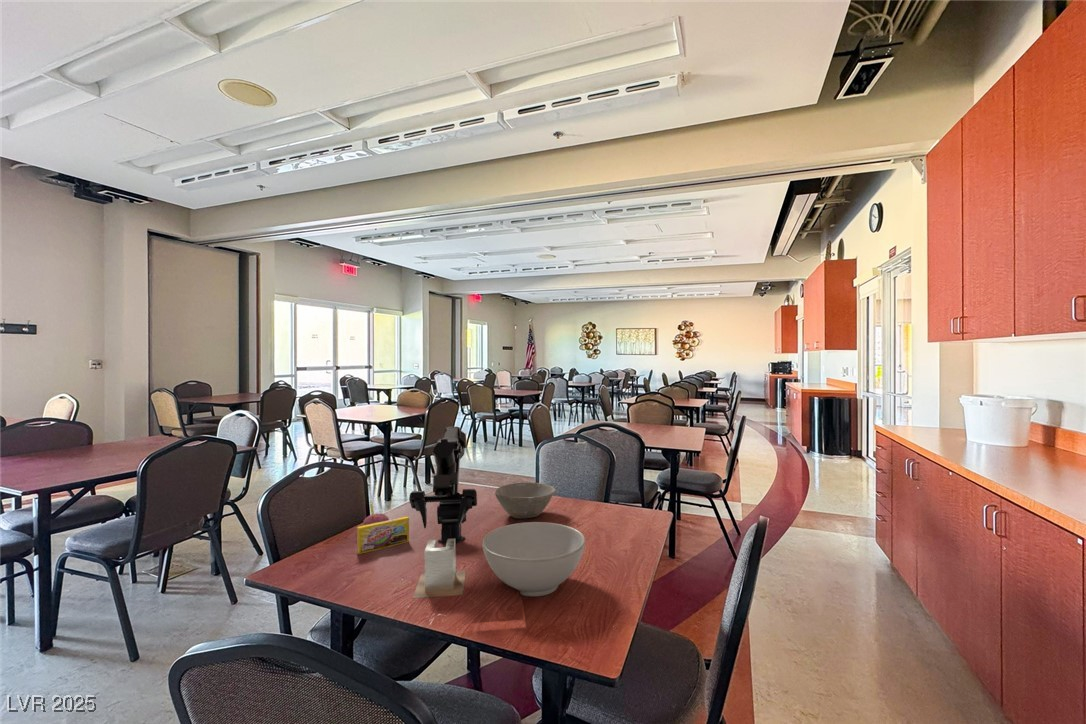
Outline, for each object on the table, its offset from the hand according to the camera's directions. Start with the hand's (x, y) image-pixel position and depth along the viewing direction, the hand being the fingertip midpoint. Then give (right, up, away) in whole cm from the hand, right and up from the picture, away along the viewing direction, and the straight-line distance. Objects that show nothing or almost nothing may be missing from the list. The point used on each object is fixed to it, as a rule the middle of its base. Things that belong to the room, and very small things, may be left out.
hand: (441, 527), depth 131 cm
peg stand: (+2, -13, -8) cm, 15 cm away
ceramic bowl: (+21, -13, +50) cm, 56 cm away
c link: (+1, -12, -8) cm, 14 cm away
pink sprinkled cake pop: (-29, -14, +32) cm, 46 cm away
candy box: (-23, -14, +21) cm, 34 cm away
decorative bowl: (+26, -13, -7) cm, 30 cm away
